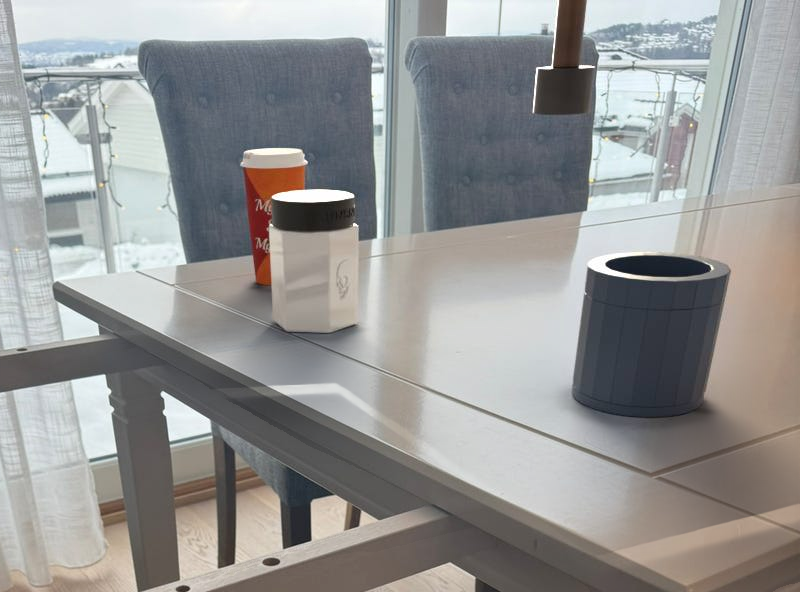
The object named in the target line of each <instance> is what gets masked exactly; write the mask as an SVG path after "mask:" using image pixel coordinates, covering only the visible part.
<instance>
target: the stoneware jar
mask: <svg viewBox="0 0 800 592" xmlns="http://www.w3.org/2000/svg"><path fill="white" fill-rule="evenodd" d="M731 273H732V270H731V268H730V266H729V265H728V264H726V263H724V262H722V261H720V260H716V259H712V258H708V257H704V256H700V255H693V254H686V253H674V252H663V251H662V252H661V251H660V252H657V251H636V252H635V251H634V252H620V253H612V254H605V255H602V256H598V257H595V258H592V259H591V260H589V261H588V262H587V268H586V274H585V282H584V290H583V299H582V306H581V312H580V320H579V330H578V337H577V344H576V352H575V360H574V367H573V375H572V386H571V395H572V396H573V398H574V399H575V400H576V401H577V402H579V403H581V404H582V405H584V406H586V407H588V408H591V409H593V410H597V411H600V412H604V413H608V414H613V415H619V416H627V417H634V418H635V417H637V418H665V417H666V418H667V417H674V416H680V415H684V414H688V413H690V412H693V411H695V410H697V409H698V408H700V407H701V405H702V404H703V402H704V397H705V393H706V391H707V388H708V387H707V386H708V381H709V377H710V372H711V367H712V362H713V358H714V353H715V349H716V344H717V338H718V334H719V330H720V326H721V325H720V324H721V321H722V316H723V310H724V305H725V302H726V297H727V292H728V287H729V282H730V277H731Z"/></svg>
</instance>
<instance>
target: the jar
mask: <svg viewBox="0 0 800 592" xmlns="http://www.w3.org/2000/svg"><path fill="white" fill-rule="evenodd" d="M355 201H356V200H355V195H354V194H353V193H350V192H348V191H344V190H335V189H333V190H332V189H304V190H301V191H290V192H284V193H279V194H276V195H274V196H272V197H271V212H272V224H270V225H269V241H270V263H271V285H272V286H271V285H270V286H271V299H272V300H271V302H272V303H271V304H272V305H271V306H272V320H273V322H275V324H278V326H279V327H280V328H282V329H284V331H286V332H287V333H315V334H316V333H318V334H319V333H320V334H332V333H335V332H337V331H339V330H343V329H345V328H348V327H351V326H354V325H357V324H358V323H359V232H360V231H359V228H360V227H359V225H357V224H356V223H355V215H356V205H355Z"/></svg>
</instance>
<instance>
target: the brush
mask: <svg viewBox="0 0 800 592" xmlns="http://www.w3.org/2000/svg"><path fill="white" fill-rule="evenodd" d="M587 5H588V0H557V7H556V17H555V29H554V37H553V38H554V40H553V51H552V61H551V66H542V67H536V70H535V71H536V73H535V82H534V83H535V84H534V94H533V95H534V96H533V107H532V114H534V115H538V116H539V115H540V116H573V115H575V116H576V115H586V114H589V113H591V104H592V96H593V87H594V78H595V69H596V66H592V65H581V59H582V50H583V41H584V30H585V22H586V11H587Z"/></svg>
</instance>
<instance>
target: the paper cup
mask: <svg viewBox="0 0 800 592" xmlns="http://www.w3.org/2000/svg"><path fill="white" fill-rule="evenodd" d="M305 156H306V154H304V152H303V150H302V149H301V148H293V147H292V148H291V147H290V148H289V147H275V148H274V147H273V148H270V147H269V148H257V149H255V148H254V149H248V150H246V151H244V152H243V153H242V161H241V162H240V165H239V166H240V167H242V169H243V178H244V187H245V196H246V197H245V198H246V205H247V206H246V208H247V209H246V210H247V216H248V227H249V228H248V229H249V236H250V243H251V252H252V260H253V269H254V275H255V281H256V283H257V284H259V285H263V286H271V287H272V285H271V263H270V241H269V225H270V224H272V212H271V197H272V196H274V195H276V194H279V193H284V192H290V191H301V190H305V180H306V179H305V178H306V177H305V174H306V165H308V163H309V161H307V160H306V159H305Z"/></svg>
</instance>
